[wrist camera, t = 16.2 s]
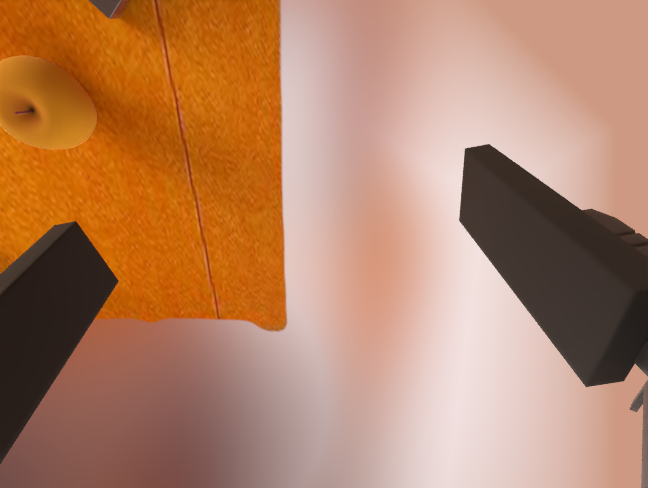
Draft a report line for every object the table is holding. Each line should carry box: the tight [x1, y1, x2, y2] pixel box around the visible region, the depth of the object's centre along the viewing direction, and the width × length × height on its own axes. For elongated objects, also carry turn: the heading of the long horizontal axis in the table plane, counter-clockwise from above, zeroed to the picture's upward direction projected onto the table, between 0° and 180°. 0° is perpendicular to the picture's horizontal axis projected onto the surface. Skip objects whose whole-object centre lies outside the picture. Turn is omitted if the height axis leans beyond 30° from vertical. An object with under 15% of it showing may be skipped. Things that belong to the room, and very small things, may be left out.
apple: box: [0, 55, 97, 150], centre depth 35 cm, size 9×9×9 cm
